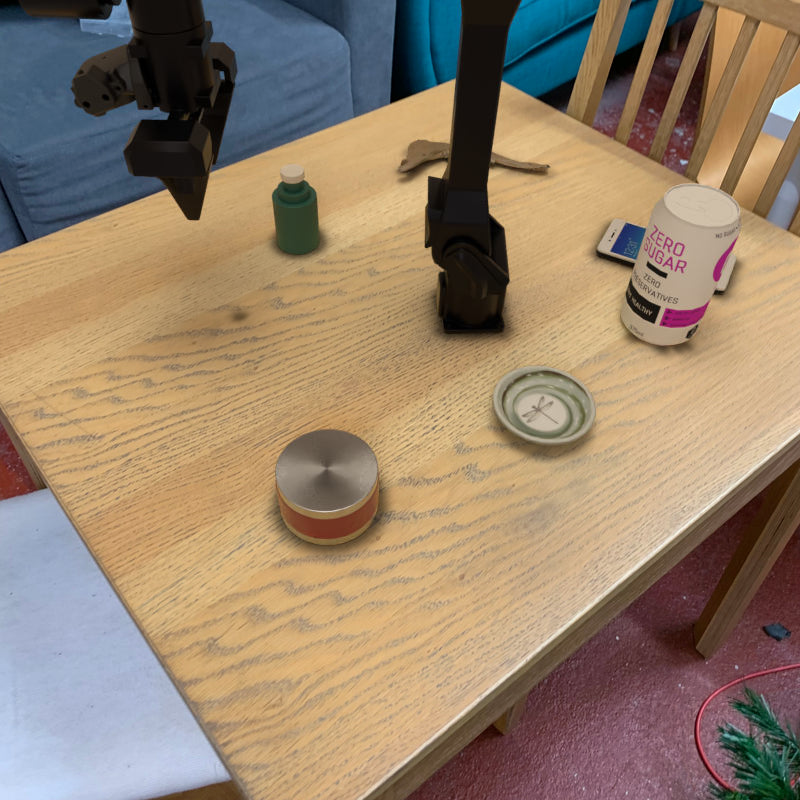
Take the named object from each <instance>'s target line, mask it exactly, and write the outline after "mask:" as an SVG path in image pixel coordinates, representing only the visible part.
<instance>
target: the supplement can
mask: <svg viewBox="0 0 800 800" xmlns="http://www.w3.org/2000/svg"><path fill="white" fill-rule="evenodd" d="M740 215H741V207H740V205H739V202H738V201H737V200H736V199H735V198H734V197H733V196H732V195H730V194H729V193H727V192H726V191H724V190H722V189H720V188H717V187H714V186H711V185H710V184H709V185H708V184H702V183H696V182H695V183H692V182H691V183H689V182H688V183H680V184H677V185H673V186H671V187H670V188H668V189H667V190H666V191H665V193H664V195H663V196H662V197H660V198H659V199H658V200H657V201H656V202H655V203H654V206H653V208H652V210H651V213H650V217H649V220H648V223H647V226H646V227H647V229H646V232H645V235H644V238H643V241H642V244H641V247H640V250H639V253H638V256H637V259H636V262H635V266H634V267H633V268H632V271H631V275H630V278H629V281H628V284H627V287H626V291H625V294H624V297H623V299H622V303H621V305H620V309H619V313H620V320H621V321H622V323H623V325H624V326H625V328H626V329H627V330H628V331H629V332H630V333H631V334H632V335H634V336H635V337H636V338H637V339H639V340H642V341H644V342H646V343H648V344H651V345H655V346H674V345H680V344H682V343H685V342H688V341H690V340H691V339H692V338H693V337H694V336H695V335H696V334H697V332H698V330H699V328H700V325H701V323H702V321H703V319H704V316H705V314H706V312H707V309H708V307H709V305H710V302H711V300H712V297H713V295H714V294H715V293H714V291H715V289H716V286H717V284H718V282H719V279H720V277H721V275H722V273H723V270H724V268H725V266H726V263H727V261H728V259H729V257H730V254H731V253H732V252H733V251H734V247H735V245H736V243H737V241H738V238H739V236H740V234H741V230H742V219H741V216H740Z"/></svg>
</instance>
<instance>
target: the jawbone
mask: <svg viewBox="0 0 800 800" xmlns="http://www.w3.org/2000/svg"><path fill="white" fill-rule="evenodd" d="M449 146H450V143H447V142H440V141H430V140H428V139H417V140H414V141H412V142H411V143H409V145H408V146H407V157H406V158H403V159H402V160H401V162H400V166H398V168H397V170H396V173H397V172H398V173H399V172H401V173H402V172H403V173H405V172H406V173H407V172H408V171H409V170H412V169H414V168H415V167H417V166H419V165H420V164H422V163H425V162H428V161H435V160H437V159H448V157H449ZM490 164H499V165H502V166H505V167H510V168H516V169H525V170H527V171H533V172H547V171H548V170H549V169H550V168H551V166H550V164H541V163H536V162H530V161H528V162H527V161H526V162H525V161H518V160H513V159H511V158H508V157H505V156H503V155H500V154H498V153H496V152H494V151H492V154H491V161H490Z"/></svg>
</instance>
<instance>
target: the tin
mask: <svg viewBox="0 0 800 800" xmlns="http://www.w3.org/2000/svg"><path fill="white" fill-rule="evenodd" d="M275 463H276V464H275V466H274V467H275V468H274V477H275V478H274V479H275V488H276V492H277V501H278V506H279V510H280V515H281V517H282V520H283V522H284V524H285V526H286V527H287V529H288V530H289V531H290V532H291V533H292V534H294V535H295V536H296V537H298V538H299V539H301V540H303V541H305V542H307V543H310V544H314V545H319V546H334V545H341V544H344V543H347V542H350V541H353V540H354V539H356V538H357V537H360V536H361V535H362V534H363V533H364V532H366V530H367V529H368V528H369V527H370V526H371V525H372V524H373V522H374V520H375V518H376V515H377V513H378V509H379V508H378V507H379V496H380V494H379V493H380V473H379V463H378V458H377V456H376V453H375V451H374V450H373V449H372V447H371V446H370V445H369V444H368V443H367V442H366V441H365V440H363V439H362V438H361V437H359V436H358V435H356V434H354V433H351V432H348V431H346V430H343V429H336V428H335V429H334V428H326V429H325V428H324V429H317V430H313V431H309V432H306V433H304V434H301V435H299V436H298V437H296V438H295V439H293V440H292V441H291V442H289V443H288V444H287V445H286V446H285V447H284V448H283V450H282V451H281V452H280V454H279V456H278V458H277V460H276V462H275Z"/></svg>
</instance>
